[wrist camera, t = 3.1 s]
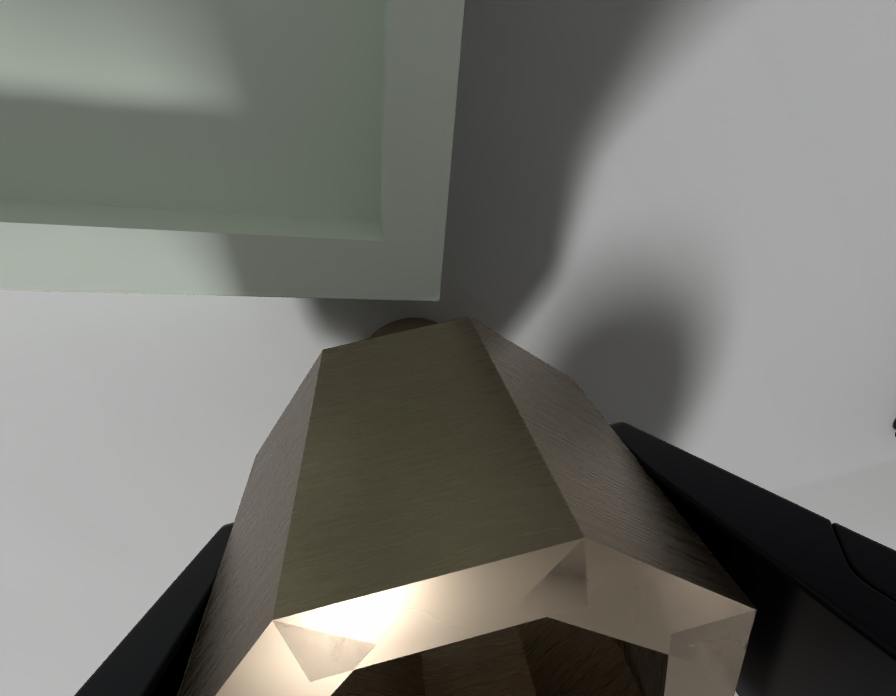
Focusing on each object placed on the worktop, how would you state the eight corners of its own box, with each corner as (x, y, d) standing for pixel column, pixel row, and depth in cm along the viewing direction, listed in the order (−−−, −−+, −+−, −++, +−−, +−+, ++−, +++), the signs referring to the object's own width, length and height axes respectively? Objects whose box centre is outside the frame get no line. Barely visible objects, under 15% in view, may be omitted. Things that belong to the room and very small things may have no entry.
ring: (569, 293, 8) (790, 482, 4) (581, 569, 12) (701, 819, 8) (215, 374, 8) (32, 683, 4) (344, 633, 12) (331, 935, 7)
